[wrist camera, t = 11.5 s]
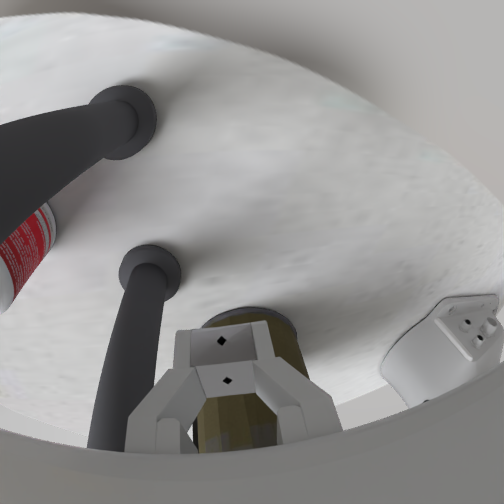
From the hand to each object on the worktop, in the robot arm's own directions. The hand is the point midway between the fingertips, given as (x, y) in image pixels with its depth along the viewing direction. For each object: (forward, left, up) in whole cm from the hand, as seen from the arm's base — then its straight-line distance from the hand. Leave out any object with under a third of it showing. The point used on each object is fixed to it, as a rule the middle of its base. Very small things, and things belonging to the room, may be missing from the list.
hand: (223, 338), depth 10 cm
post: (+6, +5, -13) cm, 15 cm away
